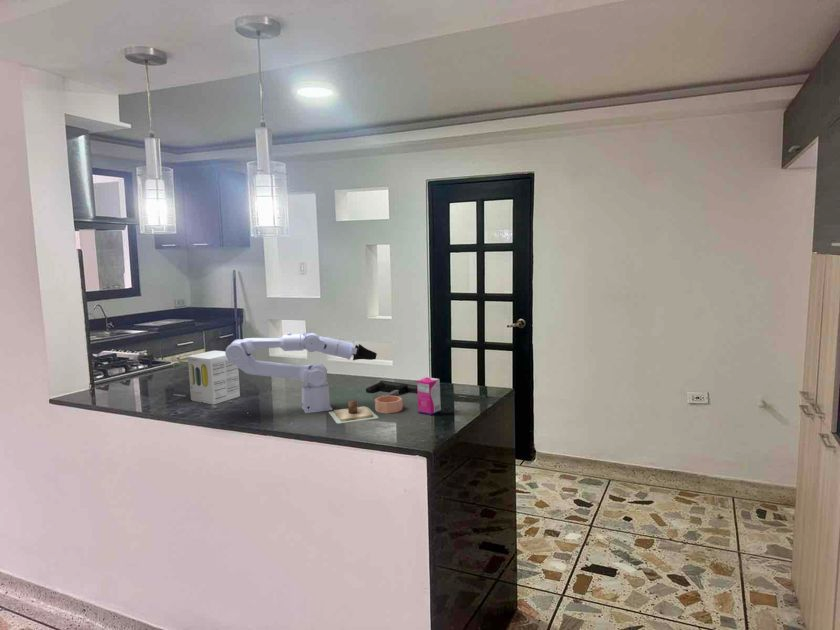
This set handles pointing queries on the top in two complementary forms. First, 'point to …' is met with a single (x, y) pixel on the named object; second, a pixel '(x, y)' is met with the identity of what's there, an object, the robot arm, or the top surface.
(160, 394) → the top surface
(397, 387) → the door handle
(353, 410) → the lid
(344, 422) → the mat
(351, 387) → the top surface
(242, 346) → the robot arm
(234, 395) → the supplement box
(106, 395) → the top surface
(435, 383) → the supplement box
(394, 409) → the bowl
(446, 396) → the top surface
